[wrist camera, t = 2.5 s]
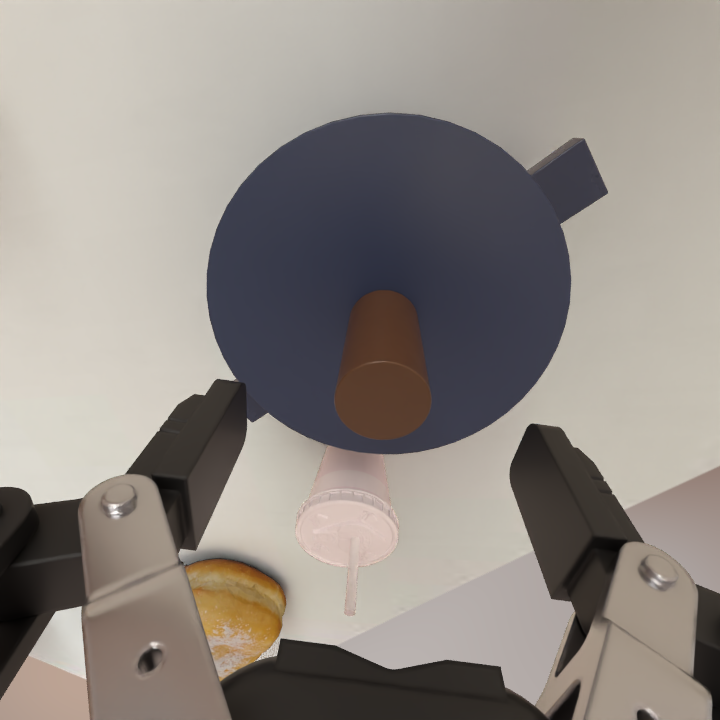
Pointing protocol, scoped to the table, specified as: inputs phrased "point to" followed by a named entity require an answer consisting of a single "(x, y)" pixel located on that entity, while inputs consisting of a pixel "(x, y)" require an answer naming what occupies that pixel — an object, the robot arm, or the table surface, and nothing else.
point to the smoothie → (348, 515)
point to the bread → (236, 611)
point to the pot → (560, 185)
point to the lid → (388, 283)
